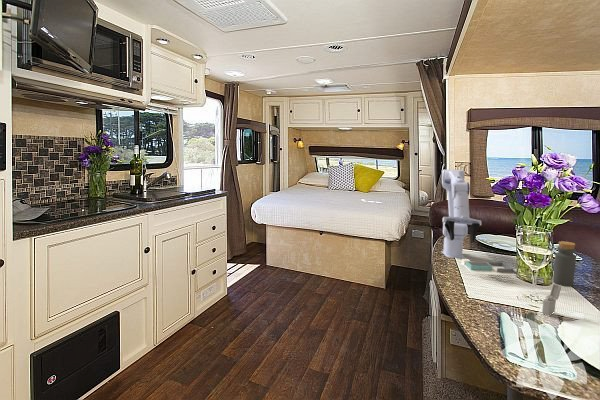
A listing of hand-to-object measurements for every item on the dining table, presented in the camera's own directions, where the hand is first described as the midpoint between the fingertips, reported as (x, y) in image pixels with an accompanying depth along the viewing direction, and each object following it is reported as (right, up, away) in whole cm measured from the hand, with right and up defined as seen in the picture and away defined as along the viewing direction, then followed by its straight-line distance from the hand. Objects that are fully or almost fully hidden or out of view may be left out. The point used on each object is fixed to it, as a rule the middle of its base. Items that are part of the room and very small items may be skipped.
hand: (462, 240), depth 131 cm
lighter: (+10, -17, -34) cm, 39 cm away
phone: (+8, -11, +3) cm, 14 cm away
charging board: (+11, -12, +2) cm, 16 cm away
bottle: (+30, -14, -12) cm, 36 cm away
